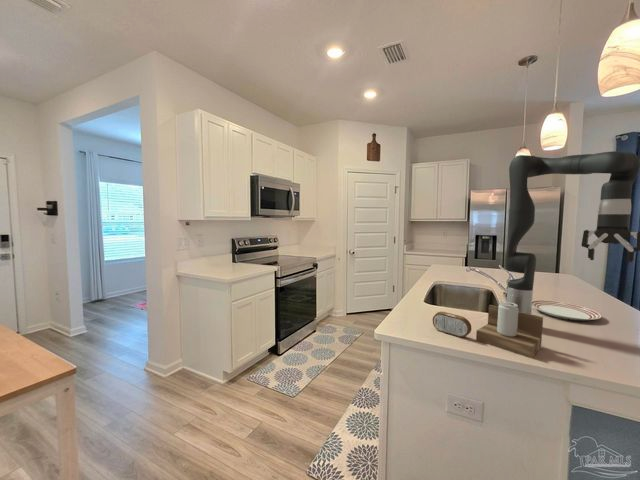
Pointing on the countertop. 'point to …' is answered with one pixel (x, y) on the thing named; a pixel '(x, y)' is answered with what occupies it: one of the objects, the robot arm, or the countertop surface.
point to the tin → (451, 324)
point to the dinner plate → (565, 310)
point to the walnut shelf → (522, 343)
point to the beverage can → (507, 319)
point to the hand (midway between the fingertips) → (609, 261)
